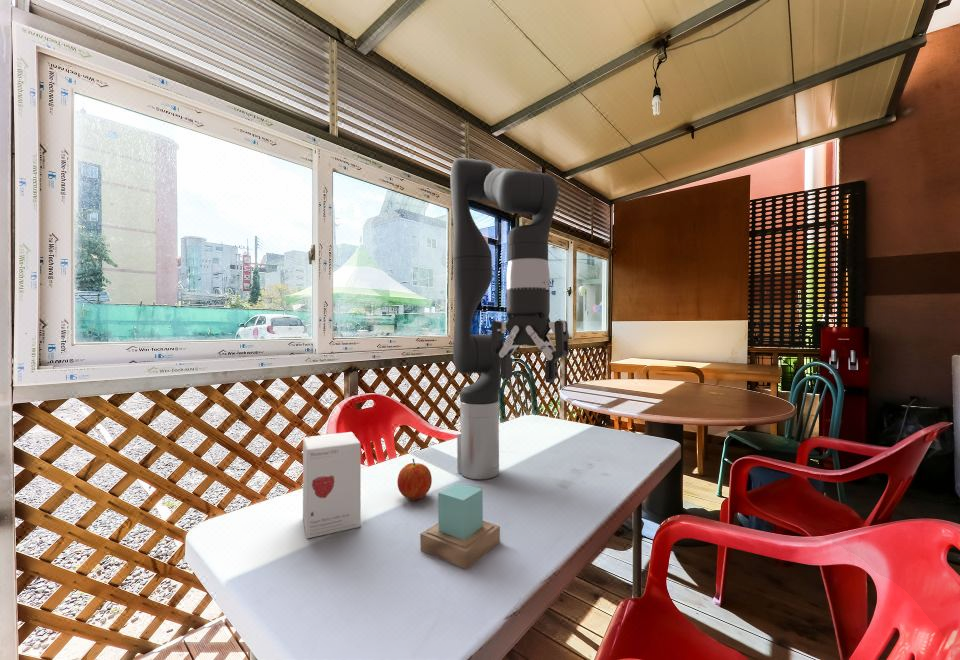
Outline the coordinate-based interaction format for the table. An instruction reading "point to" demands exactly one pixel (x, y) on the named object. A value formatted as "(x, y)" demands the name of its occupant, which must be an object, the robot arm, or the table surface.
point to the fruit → (414, 480)
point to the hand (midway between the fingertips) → (528, 380)
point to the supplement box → (331, 483)
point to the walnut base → (460, 544)
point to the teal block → (460, 510)
